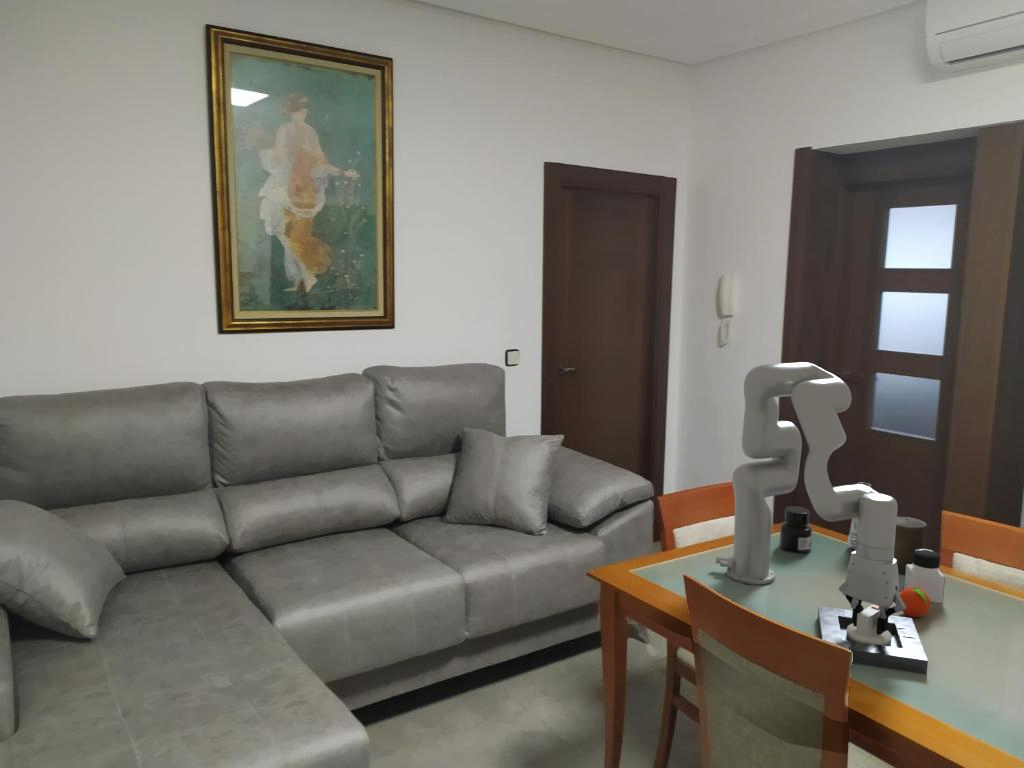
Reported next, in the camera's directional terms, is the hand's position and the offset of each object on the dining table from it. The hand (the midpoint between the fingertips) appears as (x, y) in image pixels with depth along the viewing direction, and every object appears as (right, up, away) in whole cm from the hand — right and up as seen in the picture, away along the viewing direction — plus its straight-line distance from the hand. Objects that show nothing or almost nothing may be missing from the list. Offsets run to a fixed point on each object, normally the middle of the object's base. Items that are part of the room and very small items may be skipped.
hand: (869, 627), depth 169 cm
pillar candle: (+29, +3, +42) cm, 51 cm away
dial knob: (0, -2, 0) cm, 3 cm away
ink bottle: (+5, +5, +57) cm, 58 cm away
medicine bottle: (+25, 0, +24) cm, 35 cm away
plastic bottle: (+24, +5, +56) cm, 61 cm away
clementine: (+17, -2, +14) cm, 22 cm away
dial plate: (0, -4, +1) cm, 4 cm away
